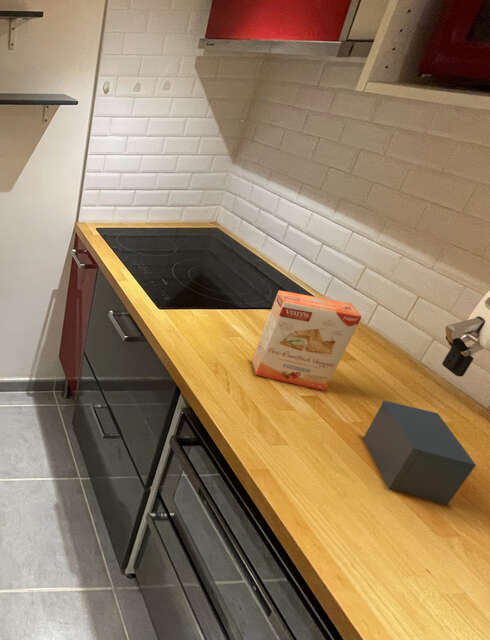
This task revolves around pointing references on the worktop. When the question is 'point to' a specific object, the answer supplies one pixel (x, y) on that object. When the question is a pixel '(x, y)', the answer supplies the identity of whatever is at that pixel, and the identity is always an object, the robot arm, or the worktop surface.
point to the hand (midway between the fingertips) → (484, 373)
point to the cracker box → (304, 339)
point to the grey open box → (417, 452)
